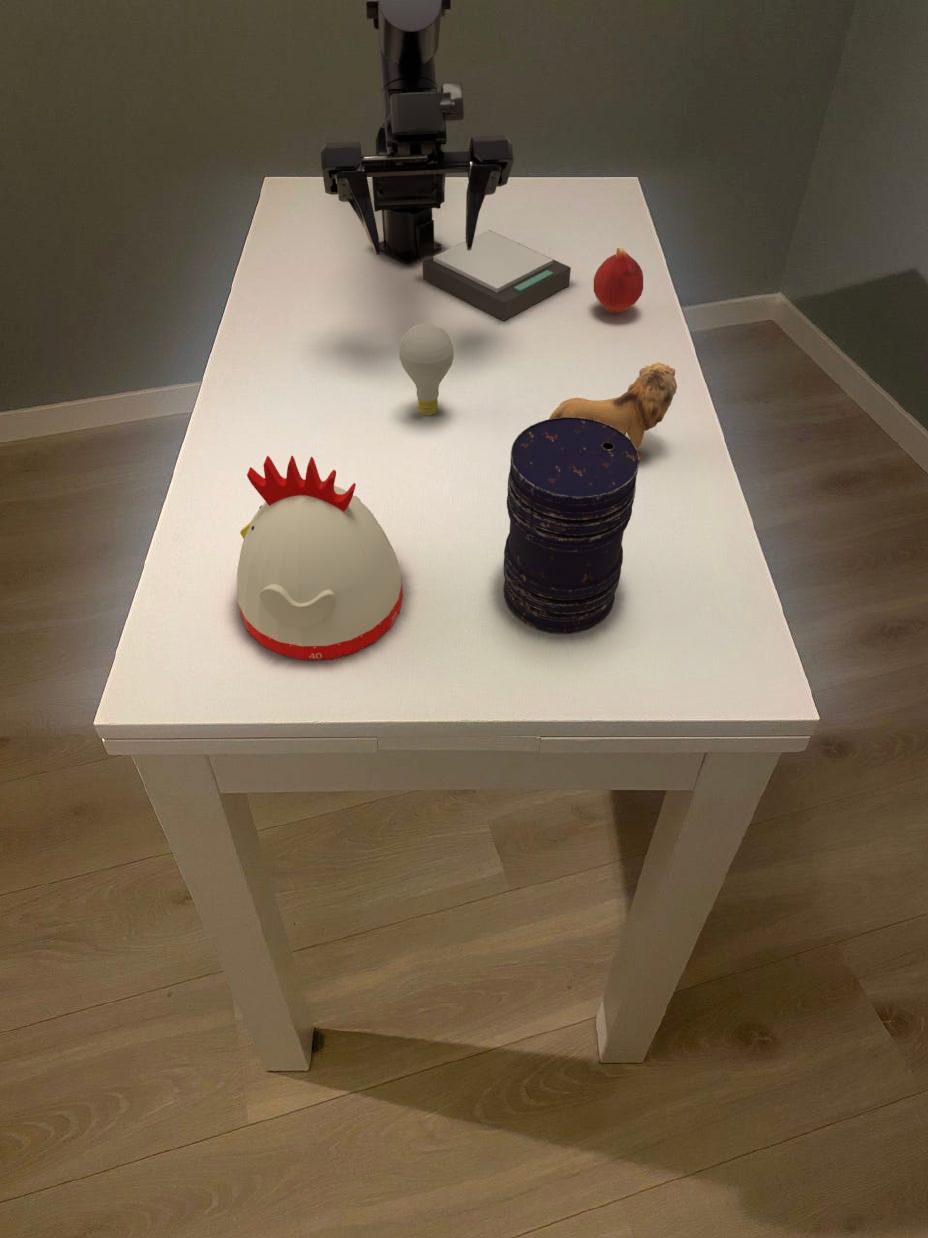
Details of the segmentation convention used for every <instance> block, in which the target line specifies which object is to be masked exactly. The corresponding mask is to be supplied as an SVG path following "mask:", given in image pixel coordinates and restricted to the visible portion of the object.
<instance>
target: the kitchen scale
mask: <svg viewBox="0 0 928 1238" xmlns="http://www.w3.org/2000/svg"><path fill="white" fill-rule="evenodd" d="M571 271H572V267H571V266H568V265H567V264H564V263H562V262H560V261H558V260H556V259H553V258H551V257H549V256H547V255H544V254H542V253H540V252H538V251H536V250H533V249H531V248H529V247H527V246H525V245H523V244H521V243H519V242H516V241H514V240H512V239H510V238H508V237H505V236H504V235H501V234H499V233H496V232H495V231H492V230H491V229H488V230H486V231H484V232H482V233H480V234H478V235H476V236H474V239H473V244H472V248H471V250H469V251H468V250H467V245H466V240H465V241H463V242H461V243H459V244H456V245H454V246H452V247H450V248H448V249H446V250H444V251H441V252H440V253H438V254H435V255H433V256H431V257H429V258H426V259H425V260H423V261H422V280H423V281H426V282H427V283H430V284H431V285H432V286H434V287H437V288H439V289H441V290H443V291H445V292H447V293H449V294H451V295H452V296H455V297H456V298H458V299H460V300H462V301H464V302H466V303H468V304H470V305H472V306H474V307H476V308H477V309H479V310H482V311H483V312H485V313H487V314H489V315H491V316H493V317H495V318H497V319H498V320H500V321H503V322H504V321H506V320H508V319H510V318H512V317H513V316H515V315H517V314H519V313H521V312H523V311H525V310H527V309H528V308H530V307H532V306H534V305H536V304H537V303H540V302H541V301H543V300H545V299H547V298H548V297H551V296H552V295H555V294H556V293H558V292H560V291H561V290H563V289H565V288H567V287H569V286H570V281H571Z"/></svg>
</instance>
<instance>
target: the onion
mask: <svg viewBox="0 0 928 1238" xmlns="http://www.w3.org/2000/svg"><path fill="white" fill-rule="evenodd" d="M643 291H644V272H643V270H642V268H641V266H640V264H639V263H638V262H637V260H635V259H634V257H632V256H631V255H629V253H628V252H626V250H625V248H623V247H617V248H616V252H615V254H613V255H611V256H609V257H607V258H606V259H605V260H604V261H603V262H602V263H601V264H600V265H599V267H598V268H597V269H596V272H595V273H594V277H593V293H594V296H595V297H596V299H597V300H598V302H599V303H600V304H601V305H602V306H603V307H605V309H607V311H608V312H610V313H611V314H617V313H618V314H619V313H620V312H623V311H625V310H628V309H629V308H631V307H632V306H633V305H635V304H636V303H637V301H638V300H639V299H640V298H641V297H642V294H643Z"/></svg>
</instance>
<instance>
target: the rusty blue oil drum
mask: <svg viewBox="0 0 928 1238" xmlns="http://www.w3.org/2000/svg"><path fill="white" fill-rule="evenodd" d="M638 452H639V450H638V451H637V449H636V447H635V445H634V444H633V443H632V441H631V440H630V438H629V436H628V435H627V434H626V435H625V434H623V433H622V432H621V431H619V430H618V429H616V428H614V427H612V426H610V425H608V424H605V423H602V422H599V421H596V420H592V419H586V418H578V417H561V418H553V419H549V418H548V419H544V420H541V421H538V422H536V423H533V424H532V425H530V426H528V427H526V428H525V429H524V430H523V431H521V432H520V433H519V434H518V435H517V437H516V438H515V439H514V441H513V443H512V446H511V449H510V458H509V459H510V461H509V462H510V466H509V473H508V477H507V488H506V489H507V496H506V509H507V514H508V519H509V533H508V535H507V537H506V540H505V545H504V550H503V568H502V569H503V570H502V571H503V578H504V581H503V582H504V583H503V598H504V602H505V604H506V606H507V608H508V609H509V611H510V613H511V614H512V615H513V616H514V617H515V618H516V619H518V621H521V623H523V624H524V625H526V626H528V627H530V628H532V629H534V630H537V631H540V632H542V633H547V634H555V635H572V634H579V633H583V632H586V631H588V630H591V629H593V628H595V627H597V626H598V625H600V624H601V623H602V622H603V621H605V619H607V617H608V616H609V615H610V613H611V611H612V609H613V607H614V603H615V599H616V592H617V590H618V587H619V583H620V579H621V573H622V566H623V560H624V549H623V539H624V534H625V530H626V529H627V527H628V525H629V521H630V520H631V517H632V514H633V506H634V502H635V497H636V491H637V490H636V488H637V486H636V485H637V475H638V472H639V466H640V461H639V455H638Z"/></svg>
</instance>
